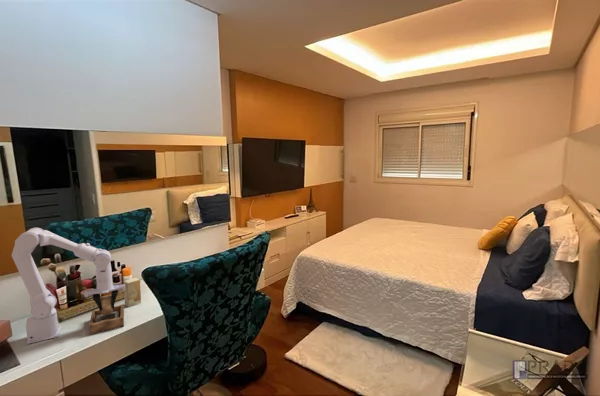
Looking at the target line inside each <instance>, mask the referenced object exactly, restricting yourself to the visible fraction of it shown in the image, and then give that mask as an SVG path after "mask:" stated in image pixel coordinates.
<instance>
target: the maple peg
mask: <svg viewBox="0 0 600 396" xmlns="http://www.w3.org/2000/svg"><path fill="white" fill-rule="evenodd" d="M100 298H101V308H102V315H108V314H111V313H112V312H113V308H112V296H111V294H110V295H103V296H102V297H100Z"/></svg>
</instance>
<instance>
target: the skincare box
mask: <svg viewBox="0 0 600 396" xmlns="http://www.w3.org/2000/svg"><path fill="white" fill-rule="evenodd" d="M123 284H125V290H123V292H124V293H123V294H124V295H123V296H124V305H125V306H126V307H128V308H130V307H132V306H136V305H139V304H142V296H141V294H142V293H141V292H142V291H141V280H140V278H138V277H135V278H134V277H133V278H129V279H126V280H123Z"/></svg>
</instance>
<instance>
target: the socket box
mask: <svg viewBox="0 0 600 396" xmlns="http://www.w3.org/2000/svg"><path fill="white" fill-rule="evenodd" d="M88 326H89V327H88V328H89V335H94V334H98V332H99V333H102V332H108V331H111V330H116V329H120V328H124V326H125V309H124V304H119V305H118V304H117V305H114V308H113V312H112V313H111V314H108V315H102V311H99V309H94V310H92V311H91V316H90V320H89V325H88ZM115 328H116V329H115Z"/></svg>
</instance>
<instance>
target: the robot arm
mask: <svg viewBox="0 0 600 396" xmlns="http://www.w3.org/2000/svg"><path fill="white" fill-rule="evenodd" d="M38 245H39V246H40V247H44V246H50V245H51V246H55V247H57V248H58V247H59V248H60V249H64V250H68V251H70V252H73V254H74V256H75V257H78V258H80V259H83V260H85V261H88V262H90V263H91V262H92V263H93V264H94V266H95V277H96V278H95V279H96V288H94V289H90V290H85V291H84V298H88V297H90V296H92V300H93V301H94V302H95V304H96V305H97V308H98V310H99V311H102V308H101V298H102V297H101V295H102V294H107V293H110V296H112V308H114V306H115V302H116V299H117V297H118V294H119V291H124V290H125V284H124V283H123V284H114V283H113V271H112V270H113V269H112V264H111V258H112V254H111V252H110V251H108V250H107V249H102V248H98V247H96V246H93V245H91V243H88V242H86V243H85V242H82V243H77V242H74V241H71V240H70V239H68V238H65V237H63V236H60V235H58V234H56V233H53V232H51V231H49V230H47V229H43V228H40V227H32V228H29V229H28V230H27V231H25V232H22V233H21V234H20V235H19V236H18V237H17V238H16V239H15V240H14V246H13V248H12V249H13V250H12V253H11V258H12V260H13V262H14V264H15V267H16V268H17V271H18V273H19V275H20V277H21V280H22V282H23V283H24V286H25V288H26V290H27V292H28V294H29V297H30V299H29V306H30V308H31V309H30V315H31V317H27V319H26V322H25V331H26V340H27V345H29V344H32V343H37V342H42V341H45V340H47V341H48V340H50V339H56V338H58V337H59V335H60V332H61V330H62V326H59V322H58V313H57V309H56V308H55V306H56V305H57V302H58V300H57V298H56V296H55V295H54V294H52V293H51V291H50V290H49V289H47V288H46V286H45V283H44V280H43V279H42V277H41V275H40V274H41V273H40V271H39V269H38V267H37V265H36V263H35V261H34V258H33V256H32V253H33V252H34V250H35V249H36V247H37V246H38Z"/></svg>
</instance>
